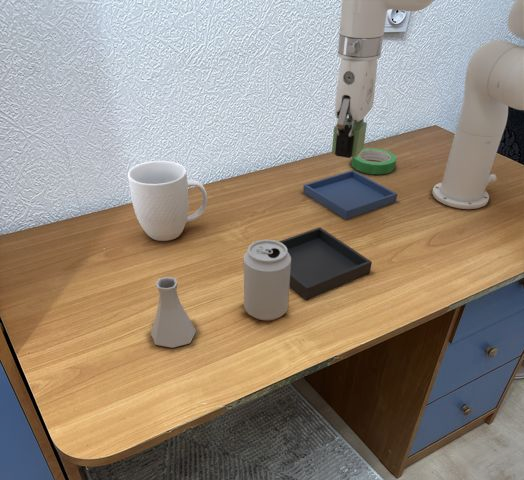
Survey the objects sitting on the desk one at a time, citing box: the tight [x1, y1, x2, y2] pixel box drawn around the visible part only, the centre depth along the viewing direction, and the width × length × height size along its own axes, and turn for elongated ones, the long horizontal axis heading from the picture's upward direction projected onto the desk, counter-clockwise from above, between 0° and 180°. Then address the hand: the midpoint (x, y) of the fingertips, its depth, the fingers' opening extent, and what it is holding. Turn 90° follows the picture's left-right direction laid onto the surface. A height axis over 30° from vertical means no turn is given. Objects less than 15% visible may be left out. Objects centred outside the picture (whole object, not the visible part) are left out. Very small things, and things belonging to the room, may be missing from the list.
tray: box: [302, 169, 398, 220], centre depth 117 cm, size 15×15×2 cm
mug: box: [127, 160, 209, 242], centre depth 101 cm, size 15×11×13 cm
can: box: [243, 239, 291, 321], centre depth 83 cm, size 8×8×12 cm
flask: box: [150, 276, 197, 349], centre depth 78 cm, size 7×7×10 cm
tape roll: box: [350, 147, 397, 175], centre depth 130 cm, size 11×11×3 cm
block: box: [331, 121, 368, 158], centre depth 99 cm, size 5×5×5 cm
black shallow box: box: [278, 226, 373, 301], centre depth 96 cm, size 15×15×2 cm
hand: (347, 149), depth 100 cm, fingers closed on block, 5 cm apart
